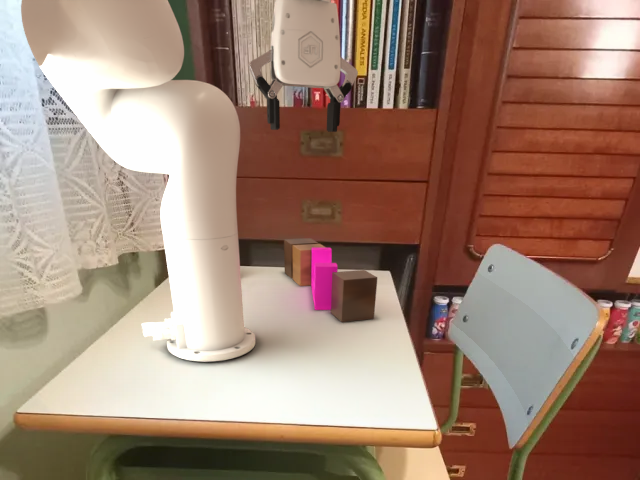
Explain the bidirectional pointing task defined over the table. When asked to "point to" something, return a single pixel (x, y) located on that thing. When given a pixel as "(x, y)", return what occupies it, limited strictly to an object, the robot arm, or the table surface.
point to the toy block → (322, 277)
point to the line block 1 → (289, 252)
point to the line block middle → (303, 263)
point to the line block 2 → (353, 295)
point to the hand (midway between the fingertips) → (303, 130)
